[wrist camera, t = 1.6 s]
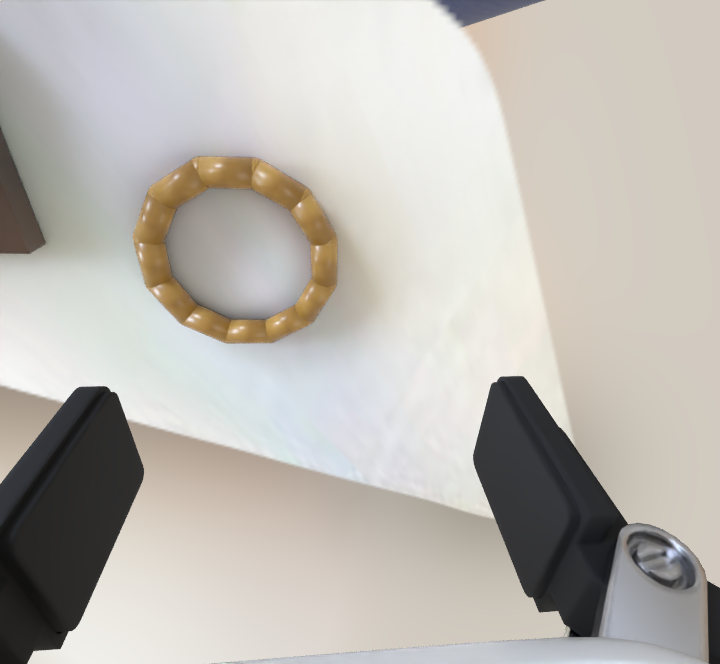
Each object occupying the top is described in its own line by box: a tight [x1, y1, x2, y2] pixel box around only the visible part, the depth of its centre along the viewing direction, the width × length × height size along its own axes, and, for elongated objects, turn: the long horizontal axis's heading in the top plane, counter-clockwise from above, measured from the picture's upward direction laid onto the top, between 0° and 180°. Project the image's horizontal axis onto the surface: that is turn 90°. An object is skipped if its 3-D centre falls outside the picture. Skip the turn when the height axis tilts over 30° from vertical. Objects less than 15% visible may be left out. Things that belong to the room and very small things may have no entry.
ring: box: [133, 156, 337, 344], centre depth 19 cm, size 9×9×1 cm
